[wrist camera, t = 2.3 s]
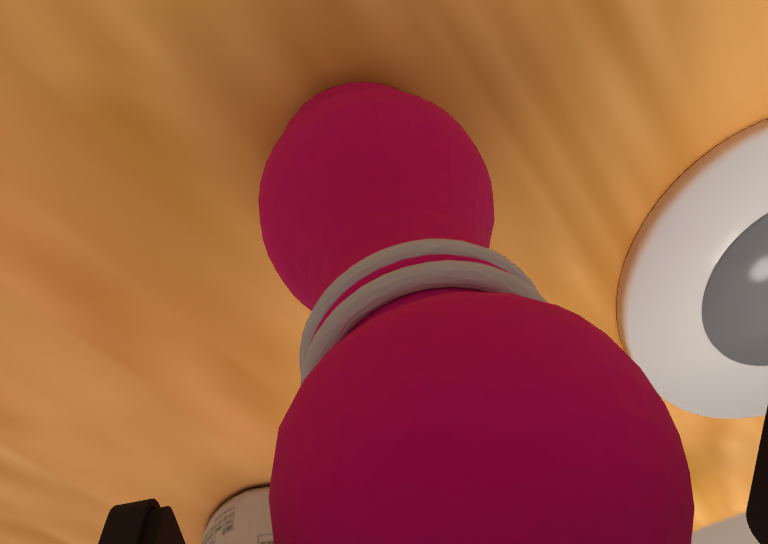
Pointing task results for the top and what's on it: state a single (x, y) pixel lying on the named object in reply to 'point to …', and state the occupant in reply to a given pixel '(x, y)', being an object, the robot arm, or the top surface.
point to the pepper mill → (443, 356)
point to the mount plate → (704, 284)
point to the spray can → (242, 520)
